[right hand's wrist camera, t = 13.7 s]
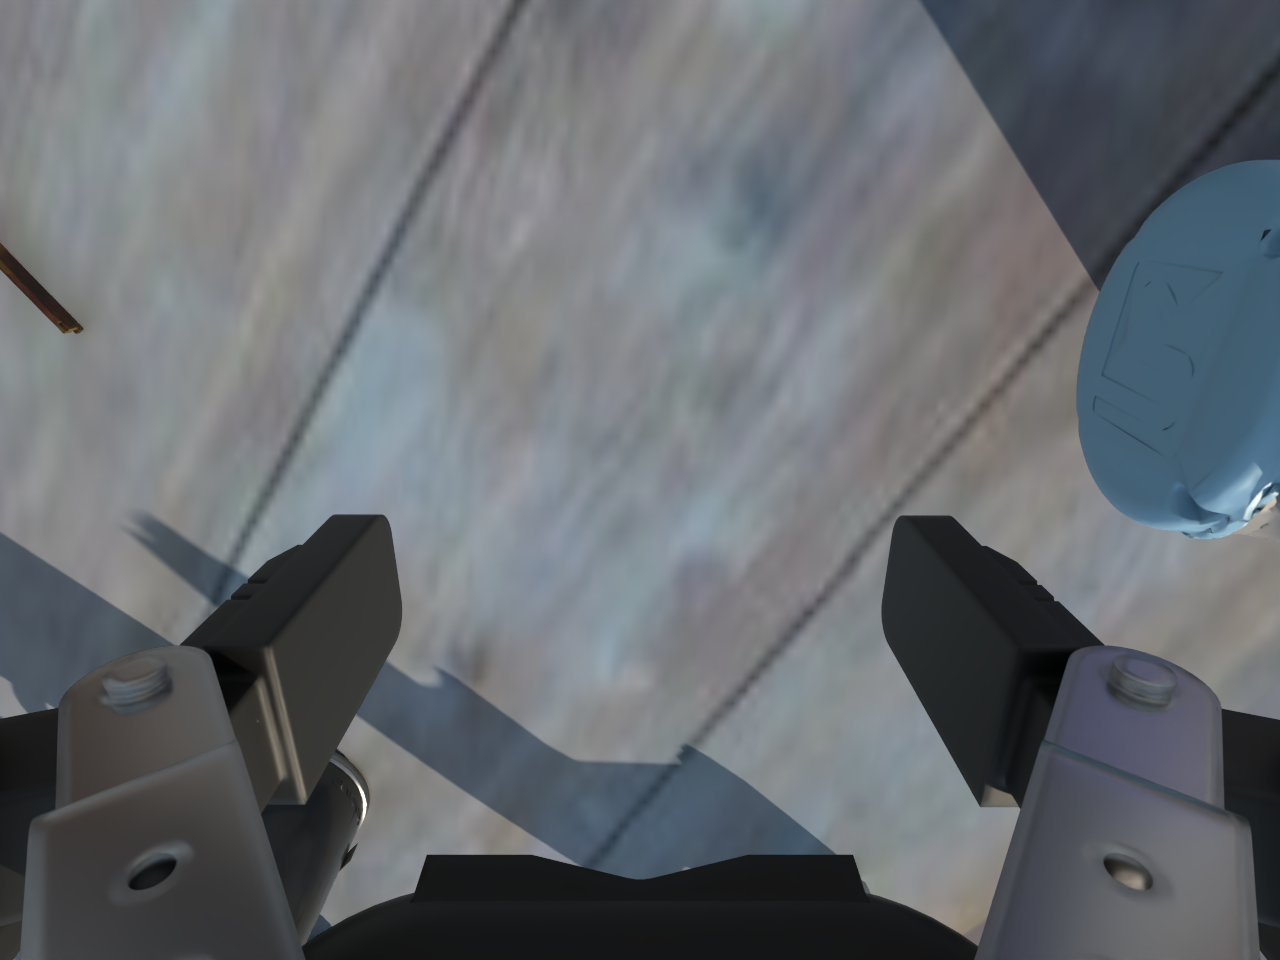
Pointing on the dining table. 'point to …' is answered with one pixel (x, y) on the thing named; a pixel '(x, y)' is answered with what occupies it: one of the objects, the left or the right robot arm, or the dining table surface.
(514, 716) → the dining table surface
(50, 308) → the dark brown thin rod
